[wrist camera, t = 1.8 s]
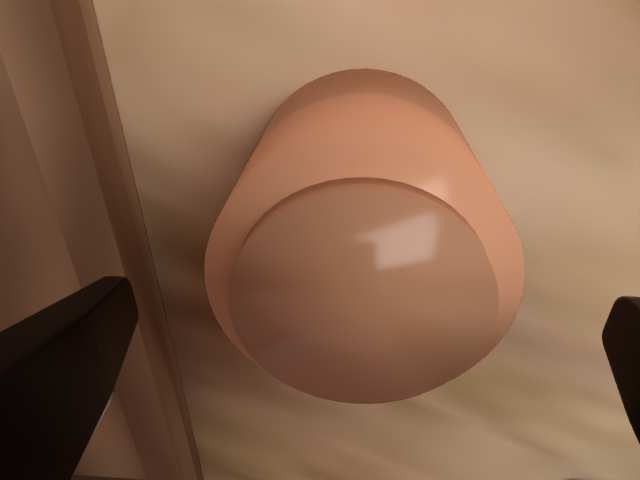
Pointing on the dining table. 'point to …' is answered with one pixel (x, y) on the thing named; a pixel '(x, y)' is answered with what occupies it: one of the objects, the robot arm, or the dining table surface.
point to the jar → (364, 245)
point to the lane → (83, 227)
